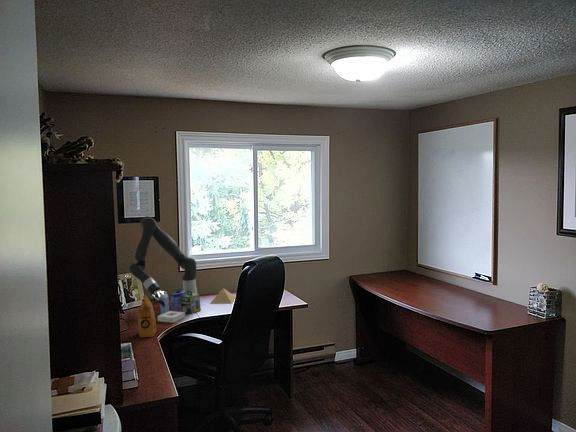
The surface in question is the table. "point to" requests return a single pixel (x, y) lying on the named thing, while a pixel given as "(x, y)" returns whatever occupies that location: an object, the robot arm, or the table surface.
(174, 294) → the ink cartridge box
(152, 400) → the table surface
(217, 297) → the model pyramid
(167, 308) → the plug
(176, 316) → the port block
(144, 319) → the coffee package
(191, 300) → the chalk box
